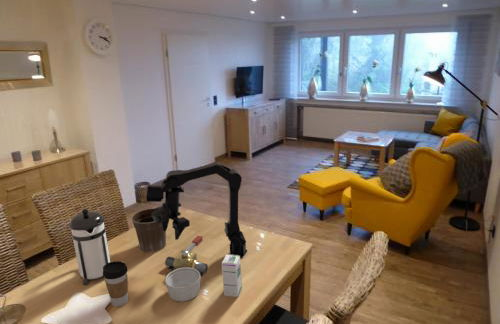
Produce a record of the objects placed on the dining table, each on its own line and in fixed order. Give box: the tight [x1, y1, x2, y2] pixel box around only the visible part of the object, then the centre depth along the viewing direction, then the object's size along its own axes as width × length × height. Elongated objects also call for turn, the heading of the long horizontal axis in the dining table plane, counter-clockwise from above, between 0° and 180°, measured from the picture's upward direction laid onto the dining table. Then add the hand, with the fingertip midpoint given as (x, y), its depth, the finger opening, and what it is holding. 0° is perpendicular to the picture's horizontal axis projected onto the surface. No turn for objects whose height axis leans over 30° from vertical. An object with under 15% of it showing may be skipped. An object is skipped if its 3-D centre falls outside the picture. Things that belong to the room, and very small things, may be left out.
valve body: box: [164, 251, 209, 277], centre depth 147 cm, size 18×6×7 cm, turn 70°
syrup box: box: [221, 254, 243, 298], centre depth 132 cm, size 6×6×14 cm
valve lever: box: [180, 235, 203, 257], centre depth 151 cm, size 15×3×2 cm, turn 160°
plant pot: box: [130, 207, 167, 253], centre depth 166 cm, size 16×16×16 cm
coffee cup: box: [102, 260, 129, 307], centre depth 128 cm, size 8×8×15 cm
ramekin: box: [164, 268, 202, 302], centre depth 133 cm, size 13×13×7 cm
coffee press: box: [68, 208, 111, 286], centre depth 143 cm, size 17×16×30 cm
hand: (170, 235), depth 150 cm, fingers open, 9 cm apart
